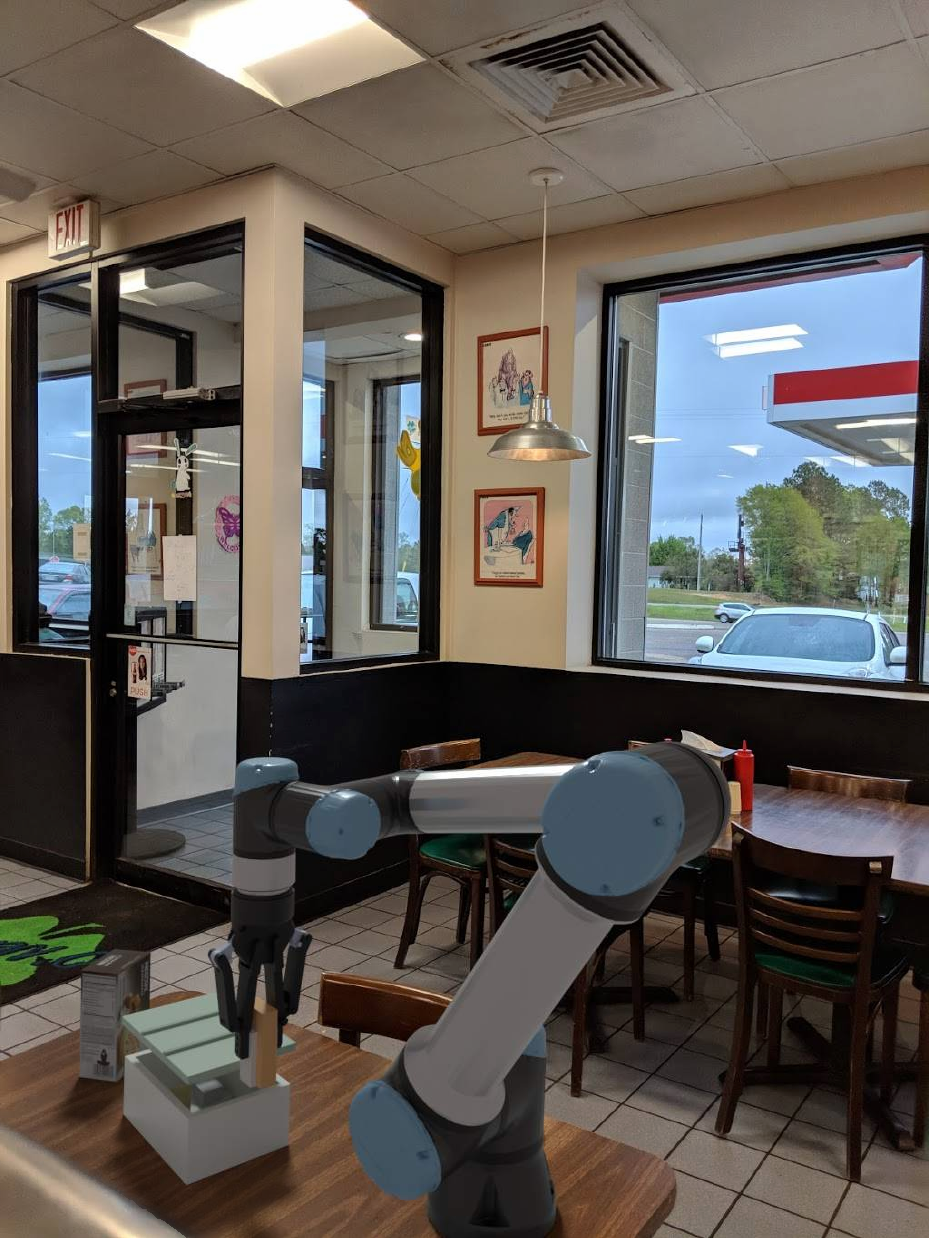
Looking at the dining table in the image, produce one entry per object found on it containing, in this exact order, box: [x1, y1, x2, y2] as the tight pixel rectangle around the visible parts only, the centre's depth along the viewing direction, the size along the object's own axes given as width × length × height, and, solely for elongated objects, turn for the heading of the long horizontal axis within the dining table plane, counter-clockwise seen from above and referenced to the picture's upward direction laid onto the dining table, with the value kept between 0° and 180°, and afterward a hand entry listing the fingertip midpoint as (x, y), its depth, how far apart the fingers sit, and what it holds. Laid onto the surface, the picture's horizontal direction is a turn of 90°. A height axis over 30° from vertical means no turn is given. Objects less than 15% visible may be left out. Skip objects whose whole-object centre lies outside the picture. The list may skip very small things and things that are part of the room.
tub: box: [123, 1049, 291, 1186], centre depth 127 cm, size 20×14×8 cm
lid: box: [122, 991, 297, 1089], centre depth 125 cm, size 27×15×10 cm, turn 41°
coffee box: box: [78, 948, 152, 1083], centre depth 143 cm, size 9×6×16 cm
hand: (257, 1078), depth 116 cm, fingers closed on lid, 2 cm apart
